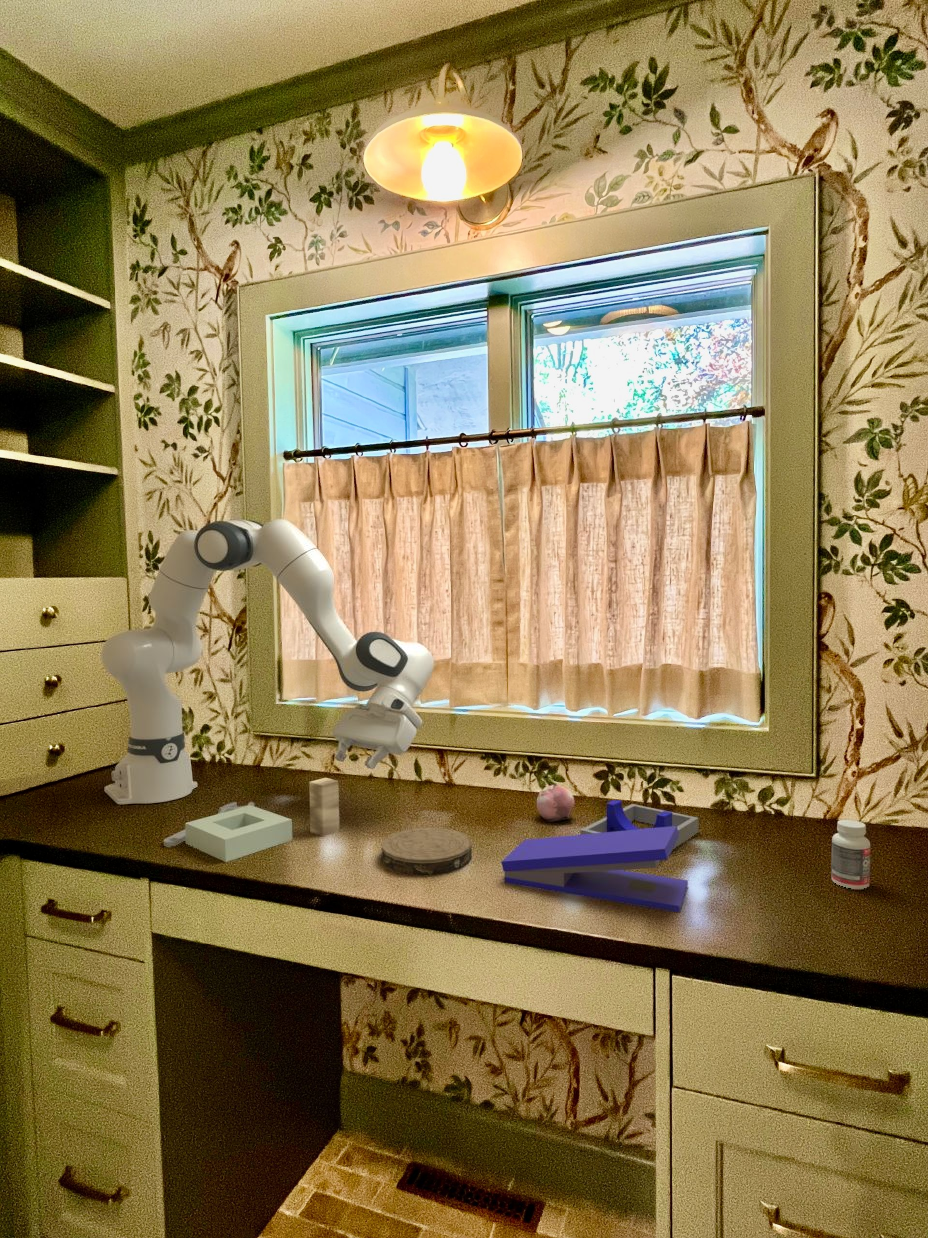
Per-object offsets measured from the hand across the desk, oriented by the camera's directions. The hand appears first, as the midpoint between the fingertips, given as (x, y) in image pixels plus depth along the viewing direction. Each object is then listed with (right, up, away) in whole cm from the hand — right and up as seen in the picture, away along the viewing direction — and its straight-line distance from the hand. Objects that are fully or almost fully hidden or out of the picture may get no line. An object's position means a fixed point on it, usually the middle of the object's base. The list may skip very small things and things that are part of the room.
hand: (353, 763), depth 147 cm
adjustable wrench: (-29, -13, 0) cm, 32 cm away
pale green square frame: (-20, -13, -10) cm, 26 cm away
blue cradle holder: (+56, -12, -11) cm, 58 cm away
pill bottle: (+84, -13, -32) cm, 91 cm away
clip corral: (+56, -12, -11) cm, 58 cm away
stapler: (+44, -14, -31) cm, 55 cm away
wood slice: (+16, -13, -19) cm, 28 cm away
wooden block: (-5, -12, -5) cm, 14 cm away
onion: (+42, -12, +1) cm, 43 cm away
